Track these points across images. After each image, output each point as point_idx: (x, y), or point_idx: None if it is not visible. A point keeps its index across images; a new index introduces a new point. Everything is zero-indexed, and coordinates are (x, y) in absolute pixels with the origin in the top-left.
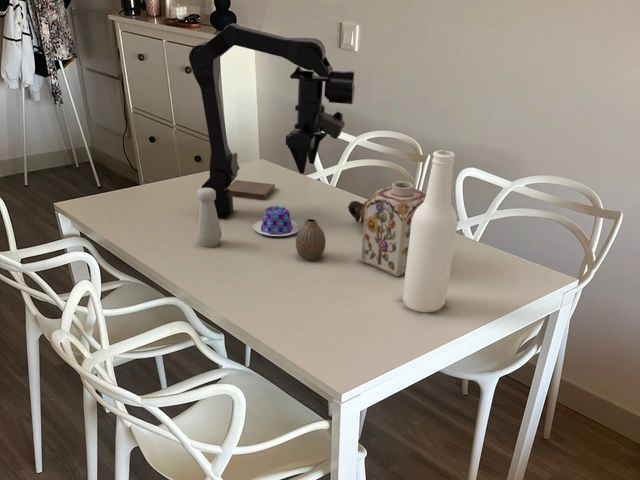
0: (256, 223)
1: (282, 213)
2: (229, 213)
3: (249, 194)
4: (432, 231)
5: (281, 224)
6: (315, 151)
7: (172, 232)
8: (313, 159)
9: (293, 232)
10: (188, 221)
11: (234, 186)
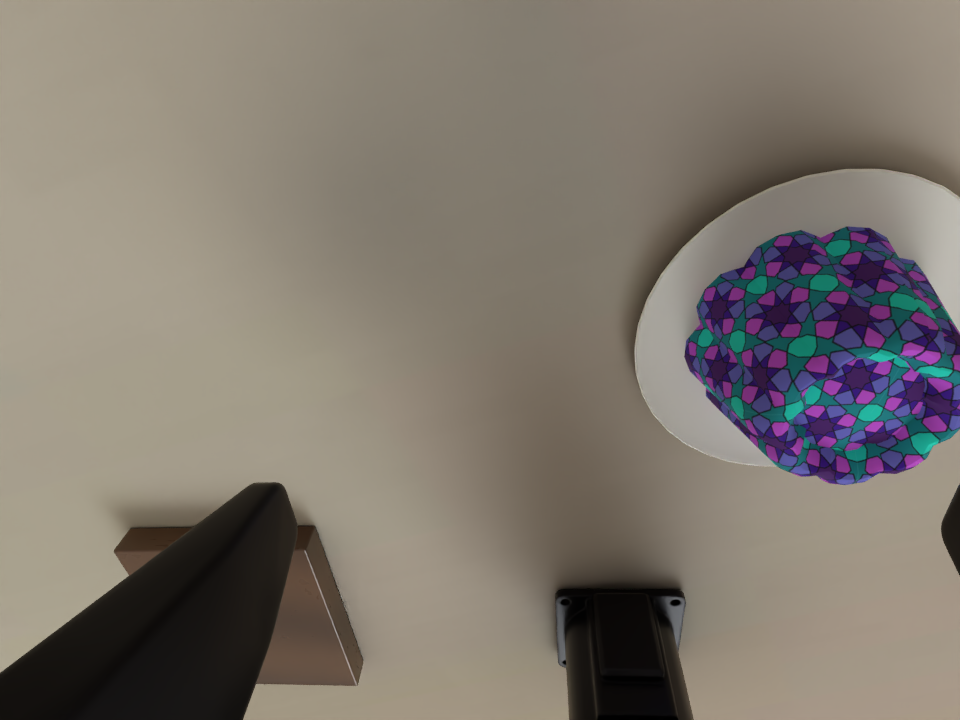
0: (757, 460)
1: (948, 353)
2: (647, 598)
3: (329, 599)
4: None
5: (943, 308)
6: (133, 686)
7: (901, 688)
8: (251, 545)
9: (886, 200)
10: (748, 679)
11: (285, 669)
